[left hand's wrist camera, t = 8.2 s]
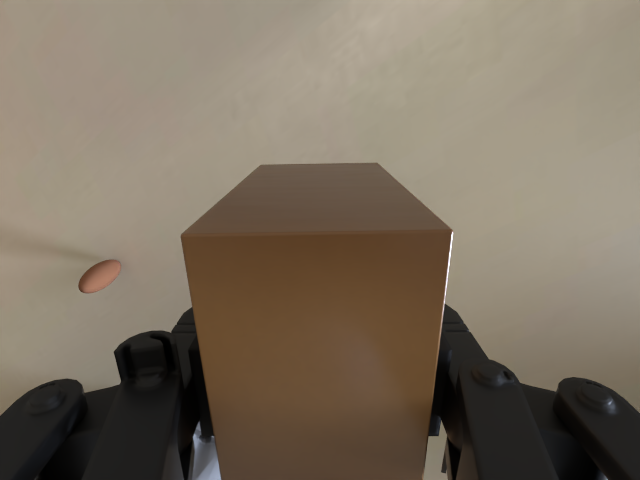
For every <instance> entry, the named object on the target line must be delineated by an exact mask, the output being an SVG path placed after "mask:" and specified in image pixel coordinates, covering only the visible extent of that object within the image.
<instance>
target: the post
mask: <svg viewBox="0 0 640 480" xmlns="http://www.w3.org/2000/svg"><path fill="white" fill-rule="evenodd" d="M452 238H453V230H452V229H451V228H450V227H449V226H448V225H446V224H445V223H444V222H443V221H442V220H441V219H440V218H439V217H437V216H436V215H435V214H434V213H433V212H432V211H431V210H430V209H428V208H427V207H426V206H425V205H424V204H423V203H422V202H421V201H419V200H418V199H417V198H416V197H415V196H414V195H413V194H412V193H410V192H409V191H408V190H407V189H406V188H405V187H404V186H403V185H402V184H400V183H399V182H398V181H397V180H396V179H395V178H394V177H393V176H391V175H390V174H389V173H388V172H387V171H386V170H385V169H384V168H382V167H381V166H380V165H379V164H378V163H337V164H280V165H260V166H259V167H258V168H257V169H255V170H254V171H253V172H252V173H251V174H250V175H249V176H247V177H246V178H245V179H244V180H243V181H242V182H241V183H239V184H238V185H237V186H236V187H235V188H234V189H233V190H231V191H230V192H229V193H228V194H227V195H226V196H225V197H223V198H222V199H221V200H220V201H219V202H218V203H217V204H215V205H214V206H213V207H212V208H211V209H210V210H209V211H207V212H206V213H205V214H204V215H203V216H202V217H201V218H199V219H198V220H197V221H196V222H195V223H194V224H192V225H191V226H190V227H189V228H188V229H187V230H186V231H184V232H183V233H182V234H181V241H182V247H183V253H184V259H185V265H186V271H187V277H188V283H189V289H190V295H191V301H192V308H193V314H194V320H195V326H196V332H197V338H198V344H199V350H200V356H201V362H202V368H203V374H204V380H205V386H206V392H207V398H208V404H209V410H210V416H211V422H212V428H213V434H214V440H215V446H216V452H217V458H218V464H219V470H220V476H221V480H423V476H424V468H425V459H426V451H427V443H428V435H429V427H430V418H431V410H432V402H433V394H434V386H435V377H436V369H437V361H438V353H439V345H440V336H441V328H442V320H443V312H444V304H445V295H446V287H447V279H448V271H449V263H450V254H451V246H452Z"/></svg>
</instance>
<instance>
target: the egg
mask: <svg viewBox="0 0 640 480" xmlns="http://www.w3.org/2000/svg"><path fill="white" fill-rule="evenodd" d="M120 270H121V265H120V263H119V262H118V261H117V260H105V261H102V262H100V263H98V264H96V265H94V266H93V267H91V268H90V269H89V270H87V271H86V272H85V274H84V275H83V276H82V277H81V279H80V281H79V285H78V287H79V290H80V291H81V292H83V293H94V292H97V291H99V290H101V289H103V288H105V287H106V286H108V285H109V284H110V283H112V282H113V281H114V280H115V278H116V277H117V276H118V274H119V272H120Z"/></svg>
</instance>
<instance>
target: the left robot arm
mask: <svg viewBox="0 0 640 480" xmlns="http://www.w3.org/2000/svg"><path fill="white" fill-rule="evenodd" d="M114 355H115V358H116V362H117V366H118V370H119V374H120V378H121V383H120V385H117V386H113V387H109V388H105V389H101V390H96V391H92V392H87V393H84V390H83V387H82V384H80V383H79V382H78V381H77V380H72V379H61V380H54V381H51V382H48V383H45V384H42V385H40V386H38V387H36V388H34V389H32V390H30V391H28V392H27V393H26V394H24V395H23V396H22V397H20V398H19V399H18V400H16V401H15V402H14V403H13V404H12V405H11V406H10V407H9V408H8V409H7V410H6V411H5V412H4V413H3V414H2V415H1V416H0V480H221V476H220V470H219V464H218V458H217V452H216V446H215V440H214V434H213V428H212V422H211V416H210V410H209V404H208V398H207V392H206V386H205V380H204V374H203V368H202V362H201V356H200V350H199V344H198V338H197V332H196V326H195V320H194V314H193V308H190V309H189V310H187V311H186V312H185V313H183V315H182V316H181V318H180V319H179V321H178V322H177V325H175V327H174V328H173V330H172V332H171V333H170V332H166V331H149V332H144V333H140V334H138V335H135V336H133V337H131V338H129V339H127V340H126V341H124V342H123V343H121V344H120V345H119V346H118V347H117V349H116V350H115V351H114ZM441 420H442V423H443V425H444V428H445V430H446V433H447V440H446V446H445V452H444V457H443V463H442V470H441V472H442V473H446V470H447V475H448V480H640V413H639V412H638V411H637V410H636V409H635V408H634V407H632V406H631V405H630V404H629V403H628V402H627V401H626V400H625V399H624V398H623V397H621V396H620V395H619V394H617V393H616V392H615V391H613V390H612V389H610V388H608V387H606V386H604V385H602V384H600V383H597V382H595V381H591V380H588V379H584V378H576V377H572V378H566V379H563V380H562V381H561V382H560V383H559V385H558V388H557V391H556V392H555V391H551V390H546V389H542V388H537V387H533V386H529V385H525V384H522V383H520V382H519V380H518V379H517V377H516V376H515V374H514V373H513V372H512V371H510V370H509V369H508V368H507V367H505V366H504V365H502V364H500V363H498V362H496V361H493V360H489V359H488V357H487V356H486V354H485V353H484V351H483V350H482V348H481V347H480V346H479V344H478V343H477V341H476V340H475V338H474V337H473V335H472V334H471V332H469V329H468V328H467V326H466V325H465V324H464V323H463V320H462V319H461V318H460V316H459V315H458V313H457V312H456V311H455V310H453V309H452V308H450V307H449V306H448V305H446V304H444V312H443V320H442V328H441V336H440V345H439V353H438V361H437V369H436V377H435V386H434V394H433V402H432V410H431V418H430V427H429V435H428V436H439V430H440V424H441Z"/></svg>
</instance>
